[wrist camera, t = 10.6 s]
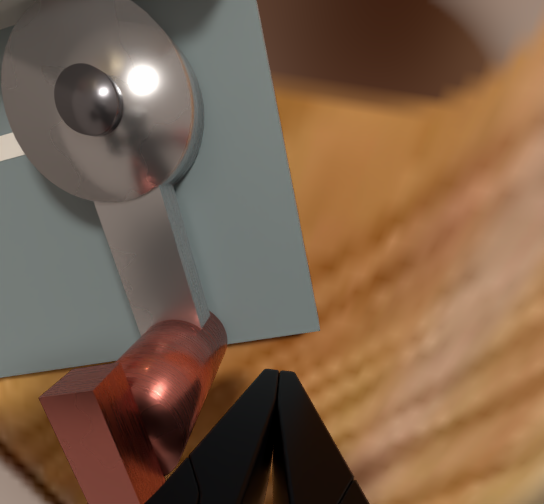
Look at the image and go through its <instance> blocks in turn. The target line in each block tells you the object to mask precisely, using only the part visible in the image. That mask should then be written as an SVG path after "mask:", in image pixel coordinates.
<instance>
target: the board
mask: <svg viewBox="0 0 544 504" xmlns="http://www.w3.org/2000/svg"><path fill="white" fill-rule="evenodd" d="M131 1H132V2H134V3H135V4H137V5H138V6H139V7H140V8H142V9H143V10H144V11H145V12H147V13H148V14H149V15H150V16H151V18H152V19H153V20H154V21H155V22H156V23H157V24H158V25H159V26H160V27H161V28H162V29H163V30H164V31H165V33H166V34H167V35H168V36H169V37H170V38H171V39H172V40H173V41H174V43H175V44H176V45H177V46H178V47H179V48H180V50H181V51H182V52H183V54H184V55H185V56H186V58H187V60H188V61H189V63H190V65H191V67H192V68H193V71H194V73H195V75H196V77H197V80H198V83H199V86H200V89H201V93H202V99H203V104H204V131H203V137H202V142H201V145H200V148H199V152H198V154H197V156H196V158H195V160H194V162H193V164H192V166H191V167H190V169H189V170H188V172H187V173H186V174H185V175H184V176H183V178H182V179H181V180H180V181H179V182H177V183H176V184H175V185H174V186H173V188H174V191H175V194H176V198H177V201H178V205H179V208H180V212H181V215H182V219H183V222H184V226H185V229H186V233H187V236H188V240H189V243H190V247H191V250H192V254H193V257H194V260H195V264H196V267H197V271H198V274H199V278H200V281H201V285H202V288H203V292H204V295H205V299H206V302H207V306H208V309H209V311H210V312H212V313H213V314H214V315H215V316H216V317H217V318H218V319H219V320H220V321H221V323H222V324H223V326H224V328H225V331H226V334H227V344H233V343H240V342H247V341H254V340H260V339H267V338H274V337H281V336H288V335H294V334H301V333H308V332H315V331H320V326H319V319H318V314H317V308H316V303H315V298H314V293H313V288H312V283H311V278H310V272H309V267H308V262H307V257H306V252H305V247H304V242H303V236H302V231H301V226H300V221H299V216H298V211H297V206H296V200H295V195H294V190H293V185H292V180H291V175H290V170H289V164H288V159H287V154H286V149H285V144H284V139H283V134H282V128H281V123H280V118H279V113H278V108H277V103H276V98H275V92H274V87H273V82H272V77H271V72H270V67H269V62H268V56H267V51H266V47H265V41H264V36H263V31H262V26H261V20H260V15H259V10H258V5H257V0H131ZM14 26H15V25H13V26H10V27H7V28H4V29H1V30H0V378H2V377H8V376H15V375H22V374H29V373H36V372H42V371H49V370H56V369H63V368H70V367H77V366H83V365H90V364H97V363H104V362H111V361H117V360H118V359H119V358H120V357H121V356H122V355H123V354H124V353H125V352H126V351H127V350H128V349H129V348H130V347H131V346H132V345H133V344H134V343H135V342H136V341H137V340H138V339H139V338H140V337H141V334H140V331H139V329H138V326H137V323H136V320H135V317H134V314H133V312H132V309H131V306H130V303H129V300H128V298H127V295H126V292H125V289H124V286H123V283H122V281H121V278H120V275H119V272H118V269H117V266H116V264H115V261H114V258H113V255H112V252H111V250H110V247H109V244H108V241H107V238H106V235H105V233H104V230H103V227H102V224H101V221H100V218H99V216H98V213H97V210H96V207H95V204H94V202H93V201H90V200H86V199H83V198H80V197H77V196H75V195H72V194H70V193H68V192H66V191H64V190H63V189H61V188H59V187H58V186H56V185H55V184H53V183H52V182H51V181H49V180H48V179H47V178H46V177H45V176H44V175H42V174H41V173H40V172H39V171H38V170H37V168H36V167H35V166H34V165H33V164H32V163H31V162H30V160H29V159H28V158H27V156H26V155H25V154H24V152H23V151H22V149H21V147H20V145H19V144H18V142H17V140H16V138H15V136H14V134H13V132H12V130H11V127H10V124H9V121H8V119H7V116H6V112H5V107H4V103H3V97H2V88H1V70H2V61H3V56H4V52H5V47H6V44H7V42H8V39H9V36H10V34H11V32H12V30H13V28H14Z"/></svg>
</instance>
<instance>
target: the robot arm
mask: <svg viewBox="0 0 544 504" xmlns="http://www.w3.org/2000/svg"><path fill="white" fill-rule="evenodd" d="M273 444H274V446H273ZM272 455H273V461H272ZM271 463H272V480H273V504H369V502H368V500H367V499H366V497H365V495H364V493H363V491H362V490H361V488H360V486H359V484H358V483H357V481H356V480H354V476H353V474H352V472H351V470H350V469H349V467H348V465H347V463H346V462H345V460H344V458H343V456H342V455H341V453H340V451H339V449H338V448H337V446H336V444H335V442H334V441H333V439H332V437H331V435H330V433H329V432H328V430H327V428H326V426H325V425H324V423H323V421H322V419H321V418H320V416H319V414H318V412H317V411H316V409H315V407H314V405H313V404H312V402H311V400H310V398H309V396H308V395H307V393H306V391H305V389H304V388H303V386H302V384H301V382H300V381H299V379H298V377H297V375H296V374H295V372H292V371H280V373H279V371H278V370H273V369H264V370H263V371H262V373H261V374H260V375H259V376H258V377H257V378H256V379H255V381H254V382H253V383H252V384H251V385H250V386H249V387H248V389H247V390H246V391H245V392H244V393H243V394H242V395H241V397H240V398H239V399H238V400H237V401H236V402H235V403H234V405H233V406H232V407H231V408H230V409H229V410H228V411H227V413H226V414H225V415H224V416H223V417H222V418H221V419H220V421H219V422H218V423H217V424H216V425H215V426H214V427H213V429H212V430H211V431H210V432H209V433H208V434H207V435H206V437H205V438H204V439H203V440H202V441H201V442H200V443H199V444H198V446H197V447H196V448H195V449H194V450H193V451H192V452H191V454H190V455H189V458H186V459H185V460H184V461H183V462H182V464H181V465H180V466H179V467H178V468H177V469H176V471H175V472H174V473H173V474H172V475H171V476H170V477H169V478H168V479H167V480H166V481H165V483H164V484H163V485H162V486H161V487H160V488H159V489H158V490H157V491H156V492H155V493H154V494H153V495H152V496H151V497H150V498H149V499H148V500H147V501H146V502H145V503H144V504H264V500H265V495H266V490H267V485H268V480H269V475H270V469H271Z"/></svg>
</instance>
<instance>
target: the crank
mask: <svg viewBox="0 0 544 504" xmlns="http://www.w3.org/2000/svg"><path fill="white" fill-rule="evenodd" d="M1 88H2V97H3V103H4V107H5V112H6V116H7V119H8V121H9V124H10V127H11V130H12V132H13V134H14V136H15V138H16V140H17V142H18V144H19V145H20V147H21V149H22V151H23V152H24V154H25V155H26V156H27V158H28V159H29V160H30V162H31V163H32V164H33V165H34V166H35V167H36V168H37V170H38V171H39V172H40V173H41V174H42V175H44V176H45V177H46V178H47V179H48V180H49V181H51V182H52V183H53V184H55V185H56V186H58V187H59V188H61V189H63V190H64V191H66V192H68V193H70V194H72V195H75V196H77V197H80V198H83V199H86V200H90V201H93V202H94V204H95V207H96V210H97V213H98V216H99V218H100V221H101V224H102V227H103V230H104V233H105V235H106V238H107V241H108V244H109V247H110V250H111V252H112V255H113V258H114V261H115V264H116V266H117V269H118V272H119V275H120V278H121V281H122V283H123V286H124V289H125V292H126V295H127V298H128V300H129V303H130V306H131V309H132V312H133V314H134V317H135V320H136V323H137V326H138V329H139V331H140V334H141V337H140V338H139V339H138V340H137V341H136V342H135V343H134V344H133V345H132V346H131V347H130V348H129V349H128V350H127V351H126V352H125V353H124V354H123V355H122V356H121V357H120V358H119V359H118V360H117V361H116V362H115V363H111V364H104V365H98V366H91V367H84V368H77V369H72V370H71V371H70V372H69V373H67V374H66V375H65V376H64V377H63V378H61V379H60V380H59V381H58V382H57V383H56V384H54V385H53V386H52V387H51V388H50V389H48V390H47V391H46V392H45V393H44V394H42V395H41V396H40V397H39V400H40V402H41V404H42V406H43V408H44V411H45V413H46V415H47V417H48V419H49V421H50V423H51V425H52V428H53V430H54V432H55V434H56V436H57V438H58V440H59V442H60V445H61V447H62V449H63V451H64V453H65V455H66V457H67V459H68V462H69V464H70V466H71V468H72V470H73V472H74V474H75V476H76V479H77V481H78V483H79V485H80V487H81V489H82V491H83V493H84V496H85V498H86V500H87V502H88V504H144V503H145V502H146V501H147V500H148V499H149V498H150V497H151V496H152V495H153V494H154V493H155V492H156V491H157V490H158V489H159V488H160V487H161V486H162V485H163V484H164V483H165V481H166V480H165V478H164V476H166V475H168V474H169V473H170V472H171V471H172V470H173V469H174V468H175V467H176V466H177V464H178V462H179V460H180V458H181V456H182V453H183V451H184V449H185V446H186V444H187V442H188V439H189V437H190V434H191V432H192V430H193V427H194V425H195V423H196V420H197V418H198V416H199V413H200V411H201V408H202V406H203V404H204V401H205V399H206V397H207V394H208V392H209V390H210V387H211V385H212V382H213V380H214V378H215V375H216V373H217V371H218V368H219V366H220V363H221V361H222V359H223V356H224V354H225V352H226V348H227V334H226V331H225V328H224V326H223V324H222V323H221V321H220V320H219V319H218V318H217V317H216V316H215V315H214V314H213V313H212V312H210V311H209V309H208V306H207V302H206V299H205V295H204V292H203V288H202V285H201V281H200V278H199V274H198V271H197V267H196V264H195V260H194V257H193V254H192V250H191V247H190V243H189V240H188V236H187V233H186V229H185V226H184V222H183V219H182V215H181V212H180V208H179V205H178V201H177V198H176V194H175V191H174V188H173V186H174V185H175V184H176V183H177V182H179V181H180V180H181V179H182V178H183V176H184V175H185V174H186V173H187V172H188V170H189V169H190V167H191V166H192V164H193V162H194V160H195V158H196V156H197V154H198V152H199V148H200V145H201V142H202V137H203V131H204V104H203V99H202V93H201V89H200V86H199V83H198V80H197V77H196V75H195V73H194V71H193V68H192V67H191V65H190V63H189V61H188V60H187V58H186V56H185V55H184V54H183V52H182V51H181V50H180V48H179V47H178V46H177V45H176V44H175V43H174V41H173V40H172V39H171V38H170V37H169V36H168V35H167V34H166V33H165V31H164V30H163V29H162V28H161V27H160V26H159V25H158V24H157V23H156V22H155V21H154V20H153V19H152V18H151V16H150V15H149V14H148V13H147V12H145V11H144V10H143V9H142V8H140V7H139V6H138V5H137V4H135V3H134V2H132V1H131V0H37V1H35V2H34V3H33V4H32V5H31V6H30V7H29V8H28V9H27V10H26V11H25V12H24V13H23V14H22V16H21V17H20V18H19V20H18V21H17V23H16V24H15V26H14V28H13V30H12V32H11V34H10V36H9V39H8V42H7V44H6V47H5V52H4V56H3V61H2V70H1Z"/></svg>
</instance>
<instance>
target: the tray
mask: <svg viewBox="0 0 544 504" xmlns="http://www.w3.org/2000/svg"><path fill="white" fill-rule="evenodd" d="M35 1H37V0H0V30H1V29H4V28H7V27H10V26H13V25H15V24H16V23H17V21H18V20H19V18H20V17H21V16H22V14H23V13H24V12H25V11H26V10H27V9H28V8H29V7H30V6H31V5H32V4H33V3H34V2H35Z"/></svg>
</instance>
